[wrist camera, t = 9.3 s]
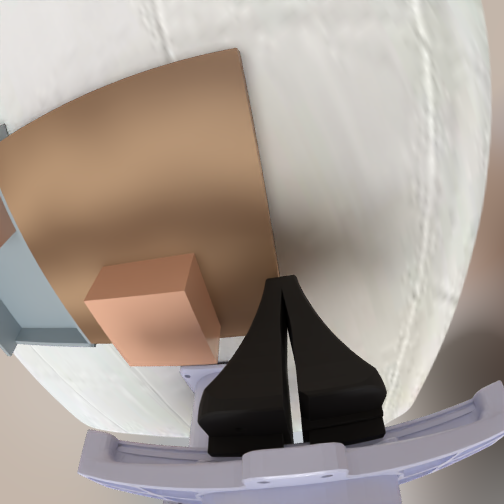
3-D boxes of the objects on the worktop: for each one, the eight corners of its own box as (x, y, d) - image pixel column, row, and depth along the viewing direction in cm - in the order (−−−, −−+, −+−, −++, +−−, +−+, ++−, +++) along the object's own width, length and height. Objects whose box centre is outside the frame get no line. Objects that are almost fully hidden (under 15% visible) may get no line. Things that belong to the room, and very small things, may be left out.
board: (283, 299, 18) (286, 330, 16) (102, 317, 20) (91, 343, 18) (239, 51, 11) (236, 47, 8) (14, 135, 12) (-14, 151, 10)
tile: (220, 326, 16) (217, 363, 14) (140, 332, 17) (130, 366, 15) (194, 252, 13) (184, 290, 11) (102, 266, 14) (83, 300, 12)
